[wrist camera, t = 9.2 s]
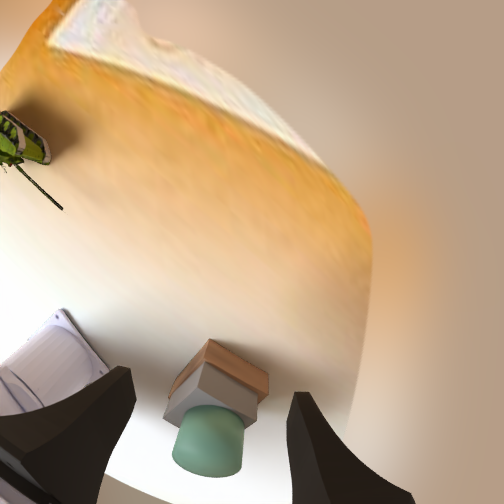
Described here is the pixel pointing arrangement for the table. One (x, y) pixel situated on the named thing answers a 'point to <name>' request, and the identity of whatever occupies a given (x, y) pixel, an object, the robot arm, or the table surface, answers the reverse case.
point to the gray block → (212, 396)
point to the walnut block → (226, 369)
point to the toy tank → (22, 146)
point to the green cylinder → (210, 441)
